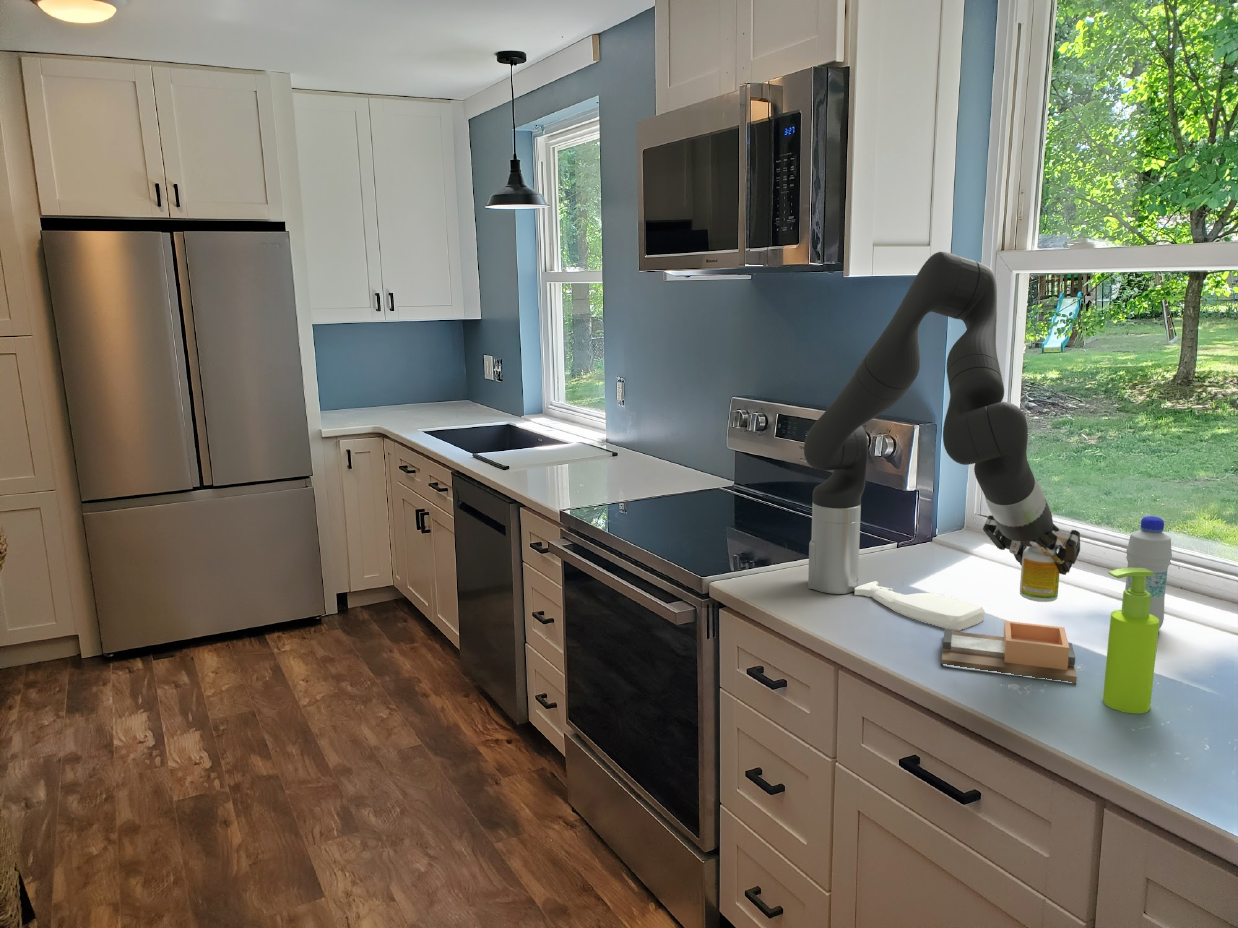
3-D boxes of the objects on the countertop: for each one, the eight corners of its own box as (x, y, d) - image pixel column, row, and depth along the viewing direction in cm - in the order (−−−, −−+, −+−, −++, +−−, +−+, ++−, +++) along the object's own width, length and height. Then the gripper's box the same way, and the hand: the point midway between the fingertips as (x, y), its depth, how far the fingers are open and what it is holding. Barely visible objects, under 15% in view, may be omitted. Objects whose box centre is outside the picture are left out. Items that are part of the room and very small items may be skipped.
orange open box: (1004, 662, 139) (1005, 640, 139) (1003, 641, 147) (1004, 620, 147) (1067, 669, 136) (1069, 647, 135) (1062, 648, 144) (1064, 627, 143)
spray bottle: (954, 635, 154) (842, 599, 174) (990, 621, 160) (878, 588, 180) (954, 619, 154) (842, 585, 173) (991, 605, 160) (878, 574, 180)
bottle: (1158, 623, 157) (1170, 513, 153) (1168, 637, 151) (1180, 522, 147) (1115, 619, 159) (1126, 510, 155) (1123, 633, 153) (1134, 520, 149)
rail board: (941, 666, 141) (941, 659, 141) (944, 636, 153) (944, 630, 153) (1076, 684, 134) (1076, 676, 134) (1068, 651, 146) (1069, 644, 146)
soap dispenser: (1087, 696, 130) (1099, 564, 126) (1132, 693, 131) (1145, 562, 127) (1112, 715, 124) (1125, 577, 120) (1159, 712, 125) (1174, 575, 121)
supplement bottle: (1061, 603, 137) (1066, 542, 135) (1023, 601, 138) (1028, 540, 136) (1052, 592, 142) (1057, 532, 140) (1015, 590, 143) (1020, 531, 141)
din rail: (942, 650, 144) (943, 641, 144) (944, 637, 149) (944, 628, 149) (1074, 667, 137) (1075, 657, 137) (1071, 652, 142) (1071, 643, 142)
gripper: (1077, 490, 126) (1102, 555, 136) (978, 476, 136) (1008, 537, 147) (1059, 534, 123) (1085, 596, 134) (959, 516, 134) (991, 575, 144)
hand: (1045, 565), depth 140 cm, fingers closed on supplement bottle, 5 cm apart
